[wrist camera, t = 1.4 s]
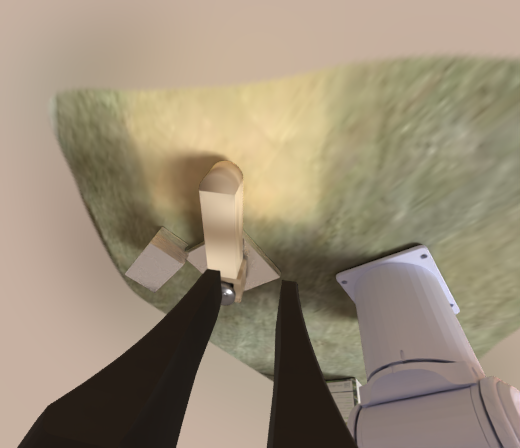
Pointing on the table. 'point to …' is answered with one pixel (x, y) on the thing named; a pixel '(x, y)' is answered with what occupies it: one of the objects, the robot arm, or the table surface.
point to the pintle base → (256, 267)
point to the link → (224, 223)
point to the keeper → (159, 260)
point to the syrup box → (345, 395)
